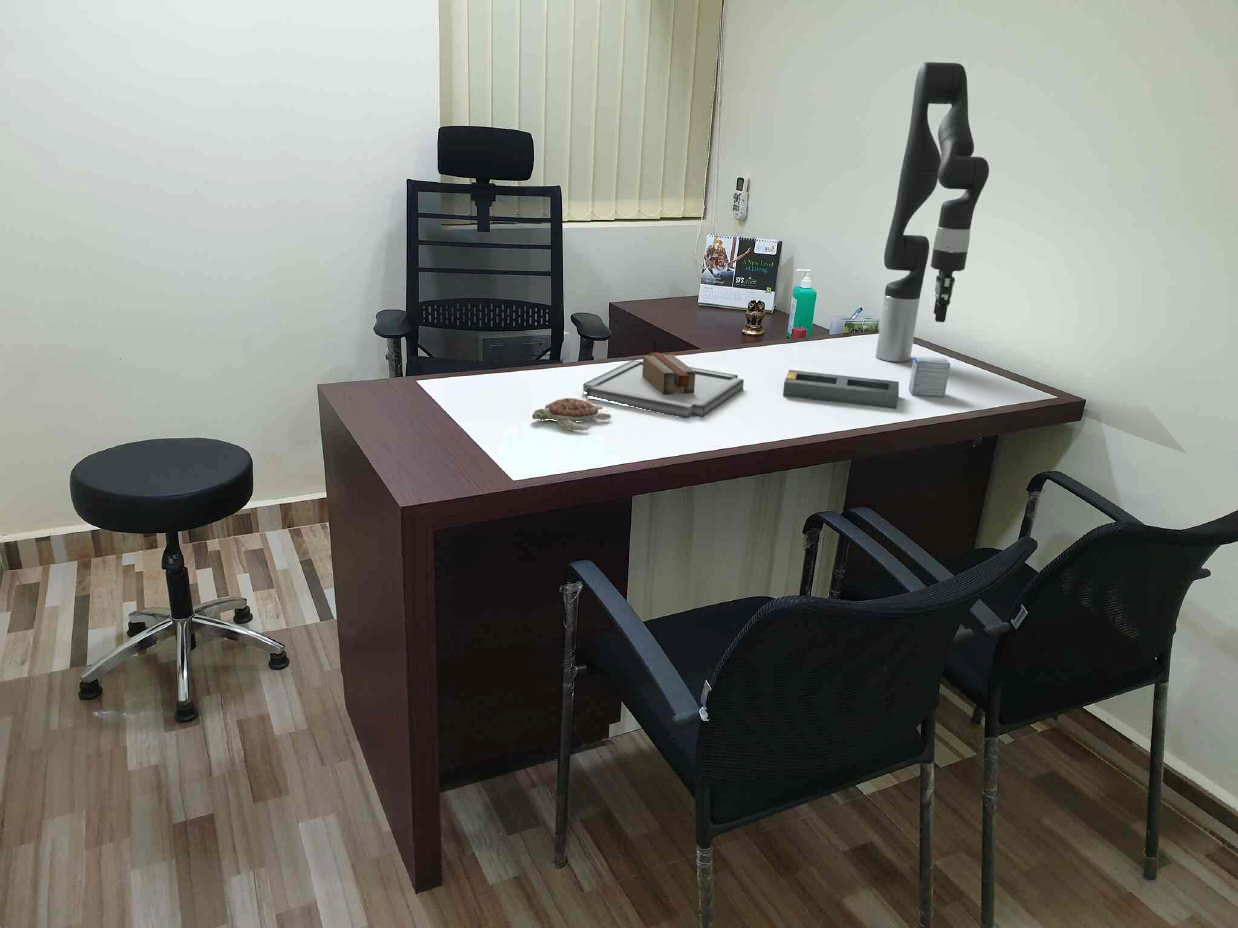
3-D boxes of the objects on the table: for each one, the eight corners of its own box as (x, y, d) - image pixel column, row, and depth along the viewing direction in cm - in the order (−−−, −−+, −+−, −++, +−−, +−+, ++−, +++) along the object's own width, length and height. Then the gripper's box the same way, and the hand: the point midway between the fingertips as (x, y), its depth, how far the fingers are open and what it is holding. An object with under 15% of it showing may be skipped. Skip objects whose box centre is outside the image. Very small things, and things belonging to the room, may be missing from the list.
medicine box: (940, 392, 224) (946, 358, 220) (944, 397, 219) (951, 363, 216) (907, 390, 224) (913, 356, 221) (911, 395, 220) (917, 360, 217)
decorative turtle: (521, 411, 200) (521, 389, 198) (592, 405, 206) (593, 383, 204) (544, 439, 184) (544, 415, 182) (621, 431, 190) (622, 408, 188)
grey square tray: (577, 399, 210) (578, 368, 207) (636, 369, 235) (637, 341, 232) (697, 423, 197) (700, 390, 194) (746, 389, 222) (749, 359, 219)
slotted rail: (787, 383, 226) (789, 369, 224) (896, 395, 219) (898, 380, 218) (782, 396, 216) (784, 381, 214) (896, 409, 210) (898, 393, 208)
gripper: (932, 243, 216) (921, 310, 222) (934, 251, 203) (923, 322, 209) (965, 245, 214) (953, 313, 220) (970, 253, 202) (957, 326, 208)
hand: (939, 318), depth 215 cm, fingers open, 8 cm apart
